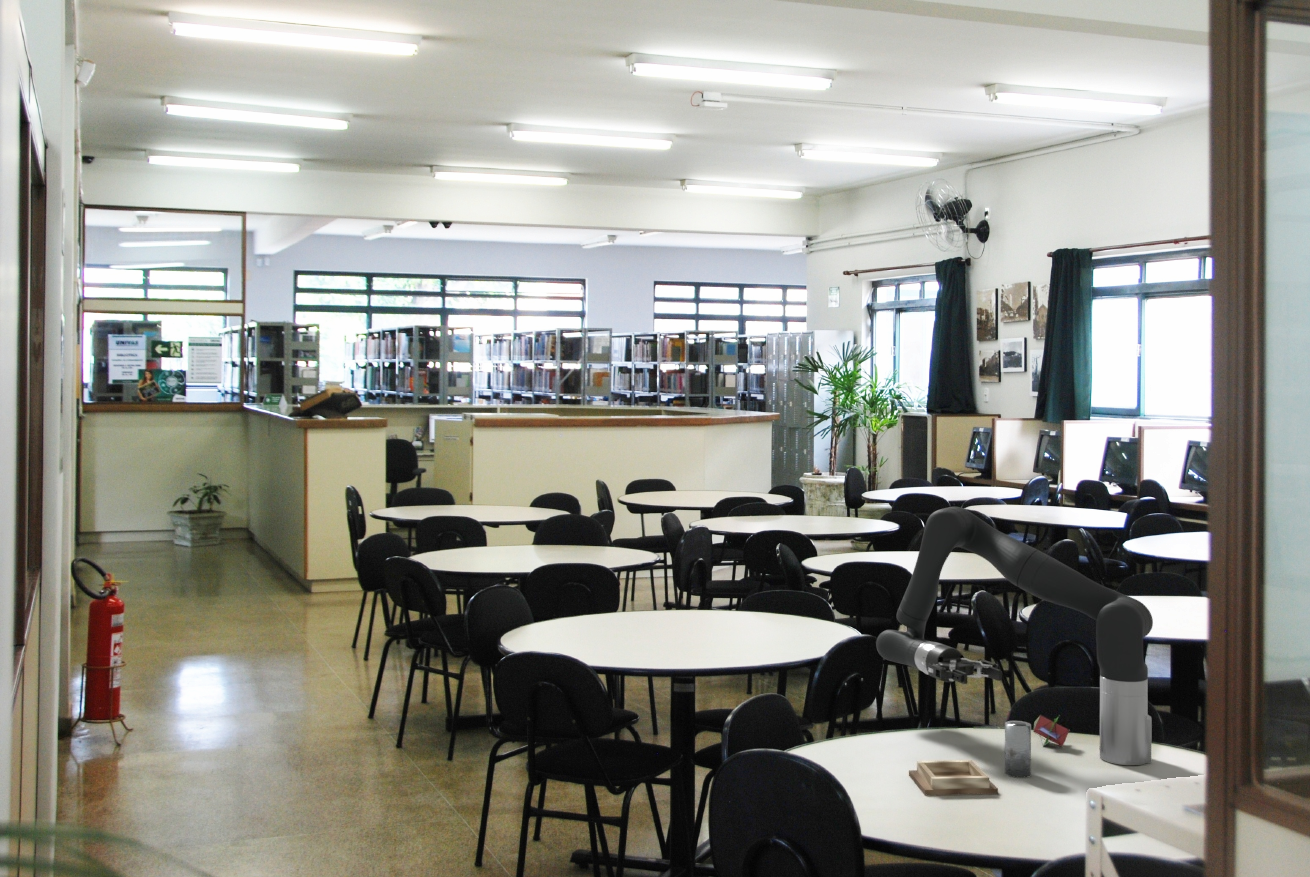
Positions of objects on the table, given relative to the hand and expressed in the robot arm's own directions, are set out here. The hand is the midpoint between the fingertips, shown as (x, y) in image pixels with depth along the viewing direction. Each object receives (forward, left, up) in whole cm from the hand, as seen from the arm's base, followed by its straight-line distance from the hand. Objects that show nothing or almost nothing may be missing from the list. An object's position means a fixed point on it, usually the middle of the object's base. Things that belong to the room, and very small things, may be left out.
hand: (983, 677), depth 246 cm
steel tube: (-4, +11, -17) cm, 20 cm away
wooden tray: (+11, +17, -17) cm, 26 cm away
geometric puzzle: (-18, -8, -17) cm, 26 cm away
